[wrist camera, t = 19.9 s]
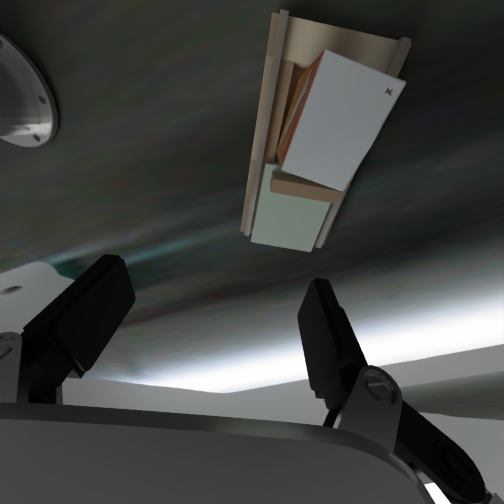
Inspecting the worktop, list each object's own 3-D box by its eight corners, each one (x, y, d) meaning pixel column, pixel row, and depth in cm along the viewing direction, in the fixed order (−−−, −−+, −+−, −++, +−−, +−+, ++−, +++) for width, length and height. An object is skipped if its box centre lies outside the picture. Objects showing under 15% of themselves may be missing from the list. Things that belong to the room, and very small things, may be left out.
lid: (251, 238, 33) (249, 256, 29) (265, 162, 26) (265, 170, 22) (309, 248, 33) (315, 267, 29) (338, 175, 27) (352, 186, 23)
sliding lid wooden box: (242, 223, 35) (239, 234, 32) (271, 24, 21) (272, 7, 18) (319, 236, 36) (324, 248, 32) (395, 51, 22) (418, 40, 19)
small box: (297, 76, 23) (325, 43, 13) (346, 96, 24) (411, 79, 13) (274, 150, 28) (279, 171, 17) (315, 164, 29) (345, 193, 18)
